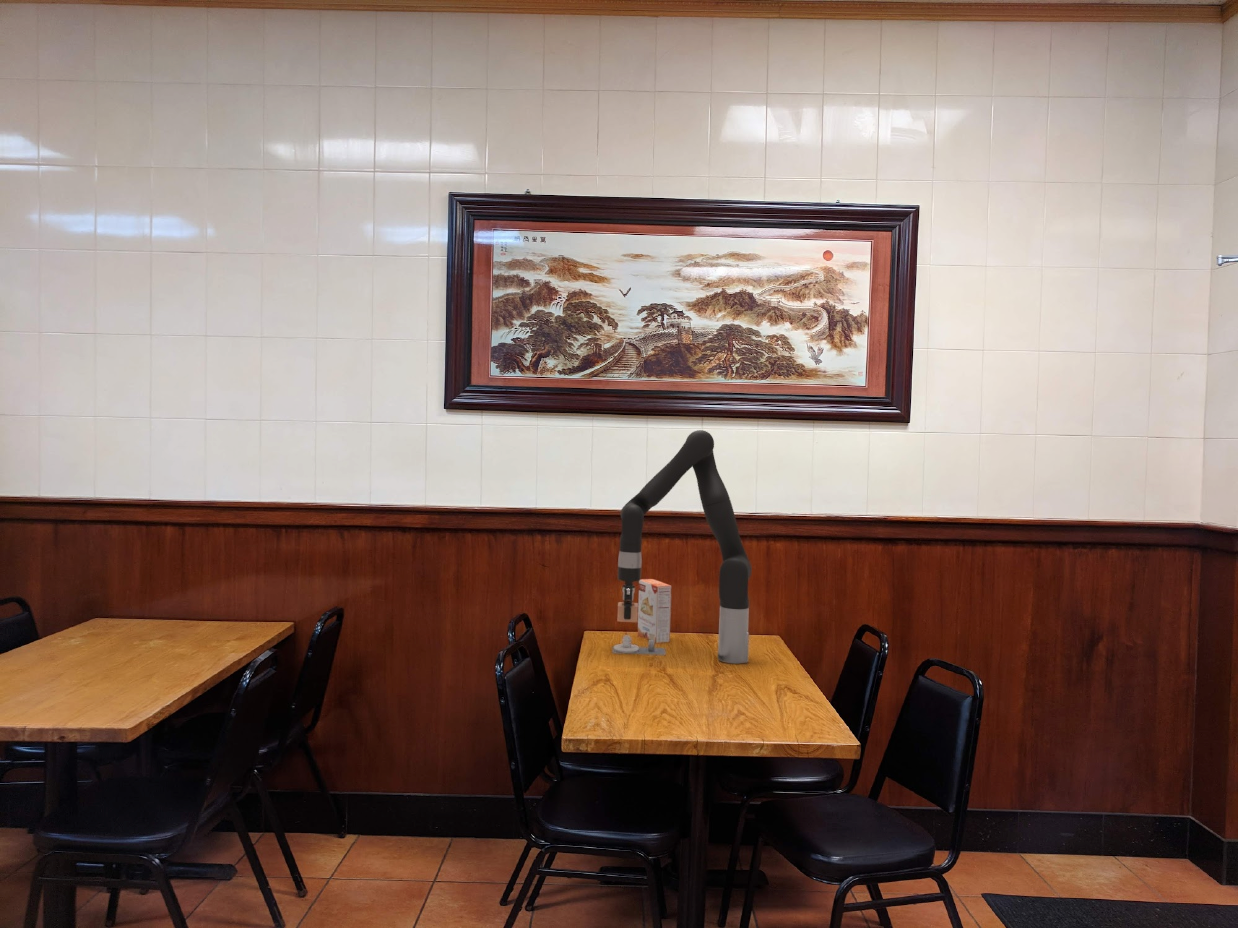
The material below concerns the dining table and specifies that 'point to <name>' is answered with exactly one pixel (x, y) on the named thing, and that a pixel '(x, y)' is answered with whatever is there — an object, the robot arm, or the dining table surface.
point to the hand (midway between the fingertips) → (627, 616)
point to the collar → (633, 613)
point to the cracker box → (654, 610)
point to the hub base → (637, 648)
